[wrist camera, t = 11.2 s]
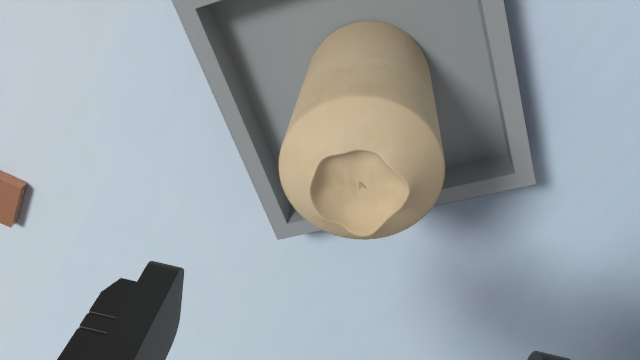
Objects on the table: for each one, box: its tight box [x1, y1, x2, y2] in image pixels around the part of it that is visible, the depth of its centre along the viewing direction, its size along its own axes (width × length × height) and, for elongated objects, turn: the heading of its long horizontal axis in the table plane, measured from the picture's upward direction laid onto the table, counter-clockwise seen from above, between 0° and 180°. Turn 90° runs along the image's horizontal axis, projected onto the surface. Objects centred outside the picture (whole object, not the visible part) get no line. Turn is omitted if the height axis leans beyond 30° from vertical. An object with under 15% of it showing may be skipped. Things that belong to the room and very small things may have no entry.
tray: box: [172, 0, 536, 240], centre depth 26 cm, size 13×13×2 cm
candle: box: [279, 21, 445, 239], centre depth 22 cm, size 6×6×10 cm
